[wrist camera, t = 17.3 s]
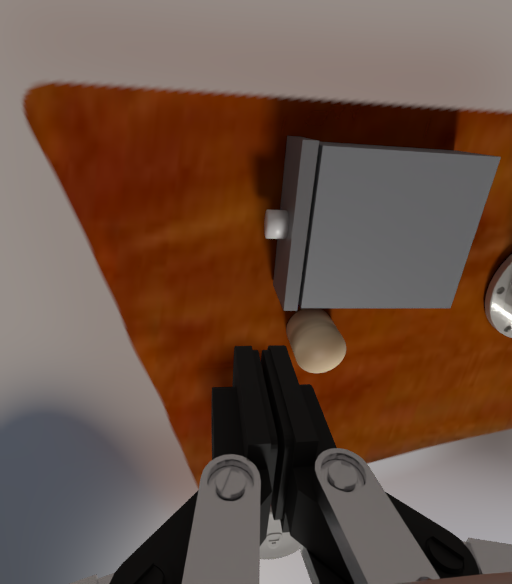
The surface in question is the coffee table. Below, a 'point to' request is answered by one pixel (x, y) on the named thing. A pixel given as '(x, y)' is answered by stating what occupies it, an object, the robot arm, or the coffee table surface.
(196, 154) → the coffee table surface
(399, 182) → the housing
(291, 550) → the canned food
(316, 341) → the beige rounded lump
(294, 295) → the drawer
